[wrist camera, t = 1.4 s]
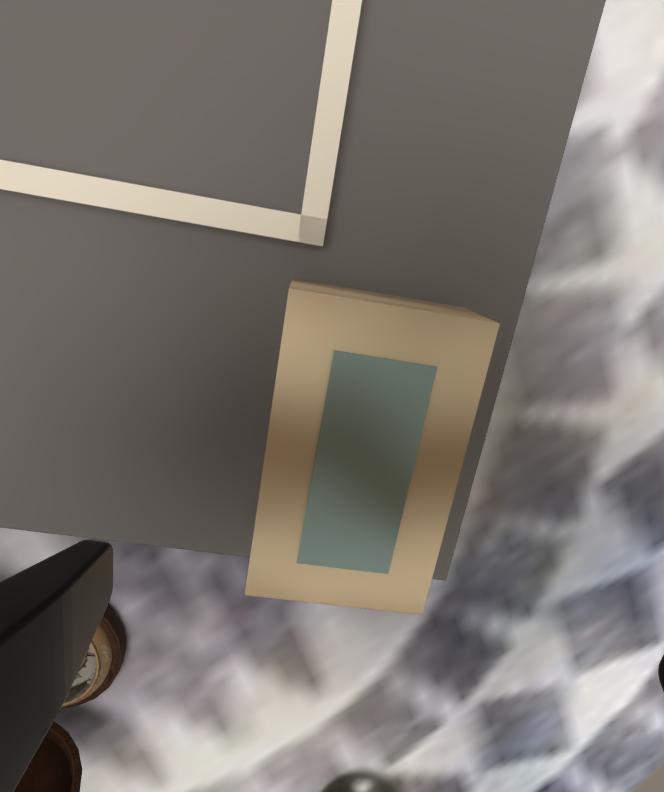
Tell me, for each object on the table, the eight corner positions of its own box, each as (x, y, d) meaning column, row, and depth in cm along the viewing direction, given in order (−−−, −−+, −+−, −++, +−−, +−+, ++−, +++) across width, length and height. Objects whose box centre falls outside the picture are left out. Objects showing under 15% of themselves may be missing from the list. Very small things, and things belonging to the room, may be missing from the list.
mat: (442, 571, 22) (453, 600, 20) (-111, 504, 20) (-152, 530, 18) (632, -129, 15) (674, -177, 13) (-185, -343, 13) (-262, -433, 11)
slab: (403, 553, 21) (423, 617, 17) (255, 535, 20) (244, 597, 17) (463, 307, 18) (501, 323, 14) (292, 278, 17) (288, 288, 14)
